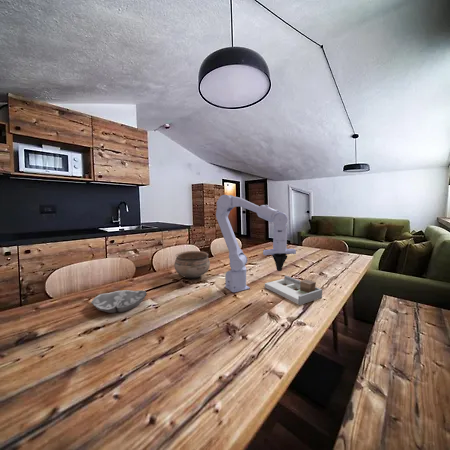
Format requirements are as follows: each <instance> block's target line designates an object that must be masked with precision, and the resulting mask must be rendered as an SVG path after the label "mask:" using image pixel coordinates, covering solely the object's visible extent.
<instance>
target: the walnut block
mask: <svg viewBox="0 0 450 450" xmlns="http://www.w3.org/2000/svg"><path fill="white" fill-rule="evenodd" d="M299 281H300V290H301V291H304V292H307V293H309V292H313V291H315V288H316V285H317V283H316V281H313V280H310V279H307V278H305V279H304V280H299Z"/></svg>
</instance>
